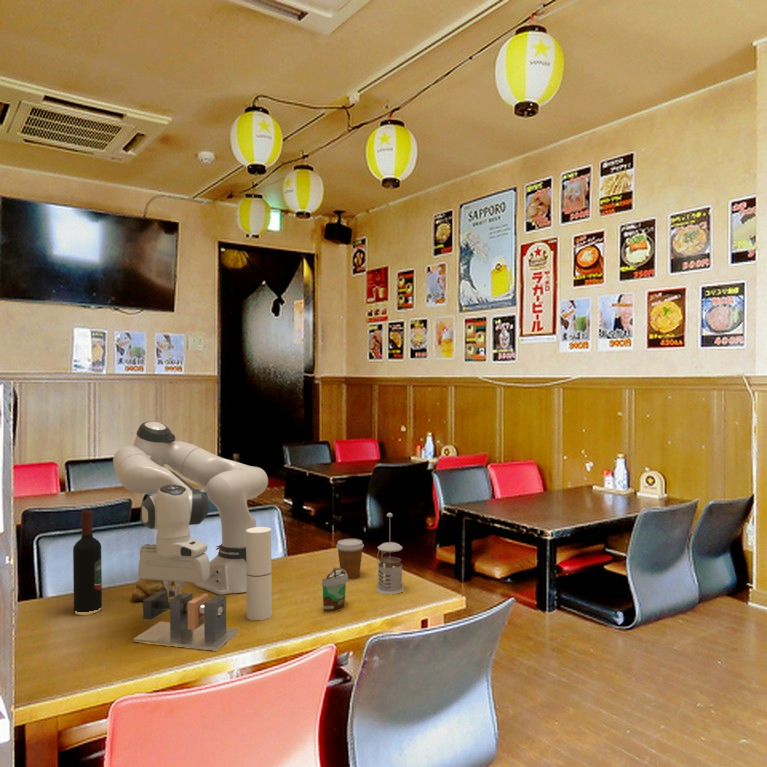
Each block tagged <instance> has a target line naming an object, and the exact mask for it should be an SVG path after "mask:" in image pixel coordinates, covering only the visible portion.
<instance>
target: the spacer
mask: <svg viewBox="0 0 767 767" xmlns="http://www.w3.org/2000/svg"><path fill="white" fill-rule="evenodd" d="M209 597H210V596H209V593H200V594H198V595H196V596H195V597H194V598H193V599H192V600H191V601H189V602H188V629H189V630H196V629H197V628H198V627H200V626H201V625H202V626H203V625H204V613H198V607H200V606H201V605H204V603H205V602H207V601H208V600H210V598H209Z"/></svg>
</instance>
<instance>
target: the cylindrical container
mask: <svg viewBox="0 0 767 767" xmlns="http://www.w3.org/2000/svg"><path fill="white" fill-rule="evenodd" d="M272 578H273V577H272V528H271V527H266V526H256V527H254V528H249V529H247V530H246V579H247V592H246V618H247V620H249V619H250V620H249V621H254V620H260V621H264V619H265V620H268V619H270V618H271V617H272V616H273V599H272V597H273V595H272V593H273V591H272V590H273V589H272V582H273V580H272ZM267 618H268V619H267Z"/></svg>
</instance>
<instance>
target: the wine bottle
mask: <svg viewBox="0 0 767 767" xmlns="http://www.w3.org/2000/svg"><path fill="white" fill-rule="evenodd" d="M72 553H73V554H72V556H73V557H72V562H73V563H72V566H73V567H72V570H73V572H72V573H73V576H72V578H73V612H74V611H77V612H89V611H94V610H98V609H99V608H101V607H102V608H103V600H102V598H103V597H102V596H103V595H102V594H103V591H102V590H103V589H102V588H103V587H102V585H103V584H102V583H103V582H102V580H103V579H102V575H103V574H102V543H100V541H99V540H98V539H97V538H95V537H94V535H93V510H92V509H84V510H83V509H82V510H81V537H80V539H79V540H77V542H75V544H74V545H73V548H72Z"/></svg>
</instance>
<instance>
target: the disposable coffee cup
mask: <svg viewBox="0 0 767 767" xmlns="http://www.w3.org/2000/svg"><path fill="white" fill-rule="evenodd" d="M335 546H336V549H337V554H338V562H339V568H341V569H344V570H345V571H346V573H347V575H348V580H354V579H353V578H355V579H358V578H360V575H361V566H362V565H361V564H362V558H363V557H362V556H363V555H362V554H363V548H364V547H365V545H364V543H363V540H361V539H358V538H344V539H339V540H338V541H337V544H336V545H335Z"/></svg>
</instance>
